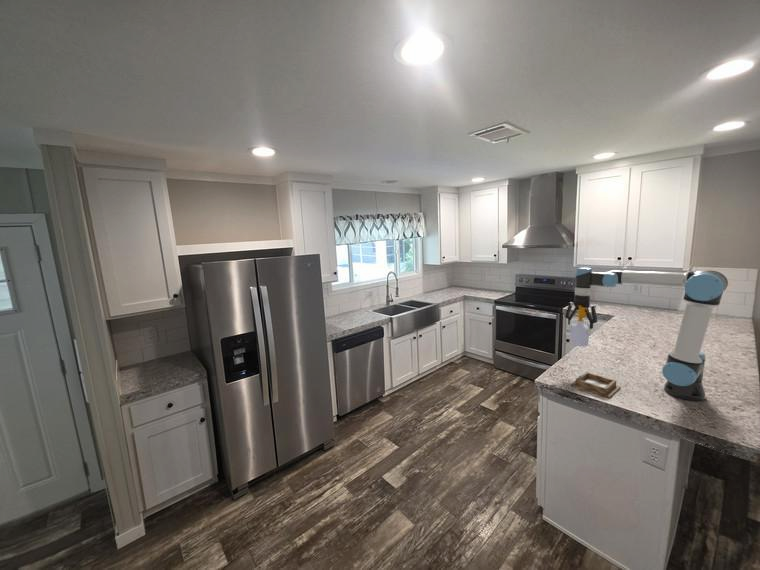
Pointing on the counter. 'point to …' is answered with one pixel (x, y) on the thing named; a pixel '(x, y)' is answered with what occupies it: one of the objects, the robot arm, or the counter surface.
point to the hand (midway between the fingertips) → (579, 331)
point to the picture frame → (597, 384)
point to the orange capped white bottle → (580, 330)
